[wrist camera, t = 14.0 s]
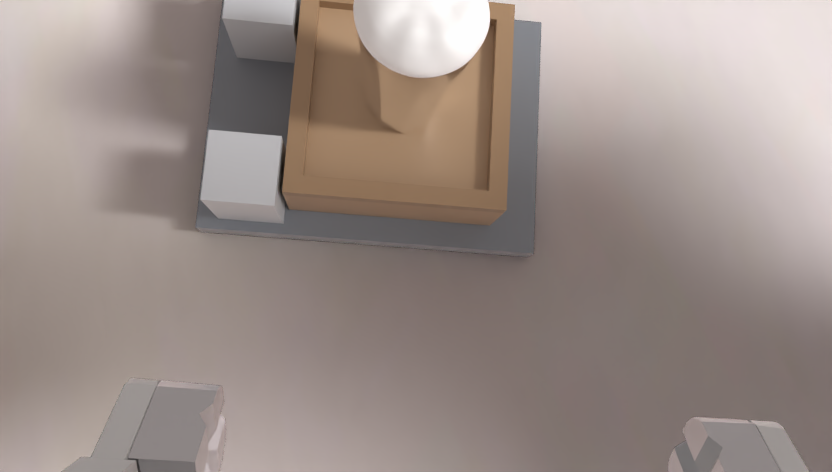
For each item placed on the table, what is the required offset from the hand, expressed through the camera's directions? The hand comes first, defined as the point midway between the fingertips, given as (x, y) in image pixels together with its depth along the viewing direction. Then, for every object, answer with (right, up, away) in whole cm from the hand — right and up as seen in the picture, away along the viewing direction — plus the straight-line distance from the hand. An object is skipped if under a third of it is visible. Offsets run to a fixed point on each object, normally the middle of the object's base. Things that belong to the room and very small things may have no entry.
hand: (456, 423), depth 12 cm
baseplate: (-3, +9, +23) cm, 25 cm away
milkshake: (-1, +9, +19) cm, 21 cm away
